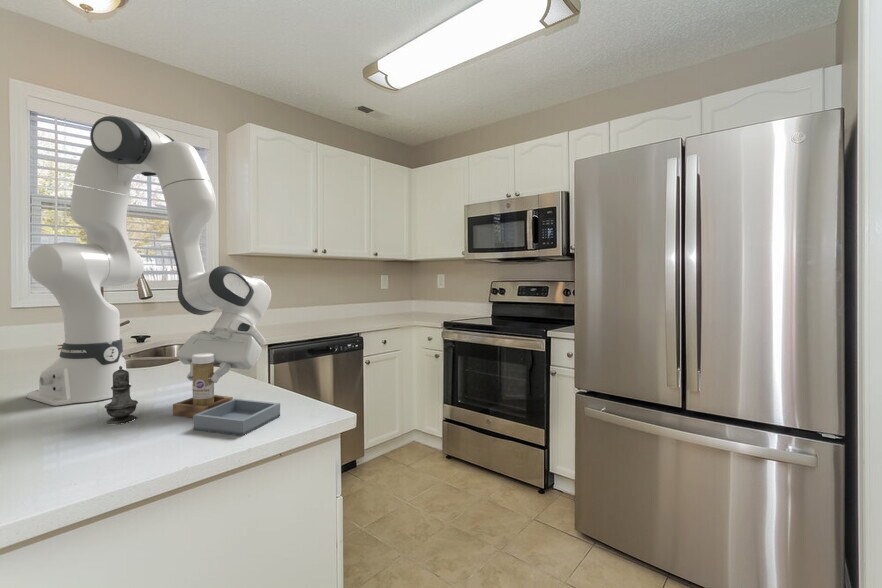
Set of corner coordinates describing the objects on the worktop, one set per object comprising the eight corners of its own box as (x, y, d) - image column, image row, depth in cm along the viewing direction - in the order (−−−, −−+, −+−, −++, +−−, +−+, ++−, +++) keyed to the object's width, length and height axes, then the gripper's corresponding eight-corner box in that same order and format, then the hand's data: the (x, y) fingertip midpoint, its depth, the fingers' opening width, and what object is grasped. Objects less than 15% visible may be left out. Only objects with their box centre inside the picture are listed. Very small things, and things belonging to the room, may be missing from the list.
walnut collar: (173, 415, 96) (172, 404, 96) (203, 403, 104) (203, 393, 104) (204, 419, 94) (204, 407, 93) (232, 407, 102) (232, 396, 102)
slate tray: (193, 429, 87) (193, 415, 87) (235, 411, 99) (235, 398, 99) (243, 435, 84) (242, 421, 84) (280, 416, 96) (280, 403, 96)
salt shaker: (120, 426, 89) (119, 369, 88) (97, 423, 90) (95, 367, 89) (145, 416, 94) (144, 363, 94) (123, 414, 96) (122, 362, 95)
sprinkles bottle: (191, 415, 96) (190, 356, 95) (194, 409, 100) (193, 352, 99) (213, 413, 98) (213, 355, 97) (215, 407, 102) (215, 351, 101)
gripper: (190, 323, 107) (156, 369, 98) (260, 327, 102) (230, 376, 93) (204, 338, 112) (173, 383, 103) (271, 342, 107) (245, 391, 98)
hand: (201, 380), depth 98 cm, fingers closed on sprinkles bottle, 4 cm apart
